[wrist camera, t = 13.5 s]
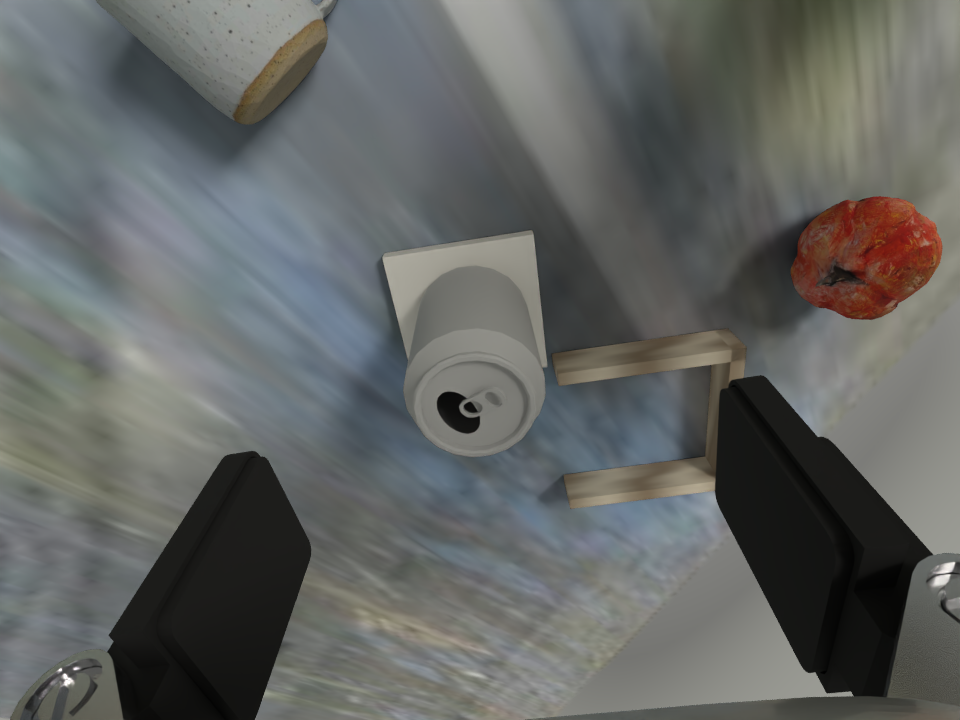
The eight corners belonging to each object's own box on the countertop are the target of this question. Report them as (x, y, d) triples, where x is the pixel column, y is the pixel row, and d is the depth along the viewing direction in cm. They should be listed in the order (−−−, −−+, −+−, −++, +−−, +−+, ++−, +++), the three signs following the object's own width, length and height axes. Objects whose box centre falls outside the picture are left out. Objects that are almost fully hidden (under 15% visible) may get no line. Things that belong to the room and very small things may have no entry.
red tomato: (864, 173, 36) (800, 183, 30) (992, 212, 31) (945, 233, 26) (809, 272, 40) (744, 297, 34) (915, 318, 36) (860, 356, 30)
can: (397, 299, 36) (367, 394, 26) (489, 239, 34) (498, 315, 24) (458, 377, 39) (455, 490, 29) (546, 326, 37) (577, 428, 27)
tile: (531, 230, 35) (533, 234, 34) (545, 360, 40) (547, 366, 39) (384, 253, 35) (382, 257, 35) (415, 378, 40) (414, 385, 39)
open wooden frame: (727, 328, 39) (746, 347, 36) (716, 463, 45) (731, 488, 42) (551, 353, 39) (557, 373, 37) (564, 483, 46) (570, 508, 43)
